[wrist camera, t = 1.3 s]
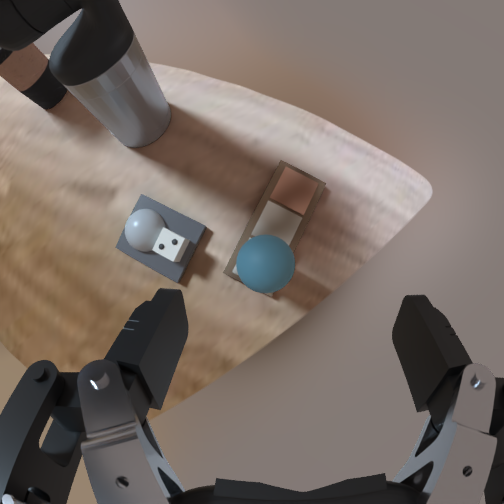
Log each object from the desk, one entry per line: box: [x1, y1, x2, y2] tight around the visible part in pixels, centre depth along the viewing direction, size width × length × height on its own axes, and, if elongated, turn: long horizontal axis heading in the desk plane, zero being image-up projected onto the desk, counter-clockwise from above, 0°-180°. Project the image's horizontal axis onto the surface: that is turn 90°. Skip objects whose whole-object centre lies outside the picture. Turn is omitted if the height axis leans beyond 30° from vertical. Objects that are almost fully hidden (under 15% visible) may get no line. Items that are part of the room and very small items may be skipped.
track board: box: [223, 160, 326, 297], centre depth 35 cm, size 7×16×1 cm, turn 153°
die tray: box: [116, 194, 206, 283], centre depth 34 cm, size 10×8×6 cm
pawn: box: [236, 235, 295, 293], centre depth 27 cm, size 5×5×14 cm
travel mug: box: [0, 43, 67, 109], centre depth 26 cm, size 8×8×20 cm
